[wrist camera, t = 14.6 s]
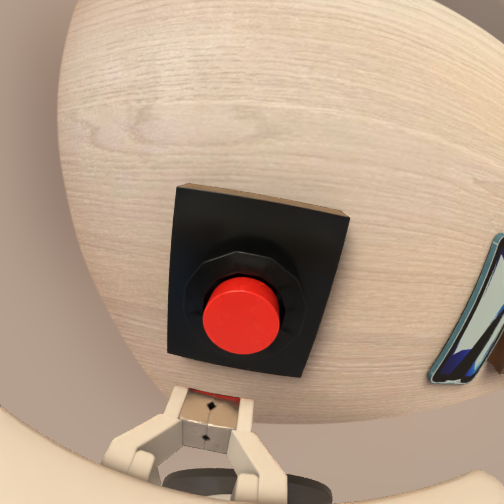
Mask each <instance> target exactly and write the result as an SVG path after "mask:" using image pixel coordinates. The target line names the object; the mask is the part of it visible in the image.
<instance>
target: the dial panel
mask: <svg viewBox="0 0 504 504" xmlns="http://www.w3.org/2000/svg"><path fill="white" fill-rule="evenodd" d="M487 359H488V360H489V361H490V363H491V364H492V365H493V366H494V368H495V369H496V370H497V372H498V373H499V374H504V331H503V332H502V334H501V336H500V338H499V340H498V341H497V343H496V345H495V347H494V348H493V350H492V352H491V353H490V355H489V357H488V358H487Z"/></svg>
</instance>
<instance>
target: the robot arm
mask: <svg viewBox="0 0 504 504" xmlns="http://www.w3.org/2000/svg"><path fill="white" fill-rule="evenodd" d="M253 412H254V400H252V399H245V398H239V397H232V396H226V395H220V394H213V393H209V392H204V391H200V390H196V389H192V388H187V387H183V386H179V385H176V386H175V387H174V389H173V392H172V394H171V397H170V399H169V401H168V404H167V406H166V409H165V411H164V414H158V415H156V416H155V417H153V418H151V419H149V420H148V421H146V422H144V423H142V424H140V425H139V426H137V427H135V428H133V429H132V430H129V431H128V432H126V433H124V434H122V435H120V436H118V437H116V438H114V439H113V441H112V442H111V444H110V446H109V448H108V450H107V452H106V454H105V456H104V458H103V460H102V462H101V464H99V463H96V462H94V461H92V460H90V459H88V458H86V457H84V456H81V455H79V454H77V453H75V452H73V451H71V450H69V449H68V448H66V447H64V446H62V445H60V444H58V443H57V442H55V441H53V440H51V439H50V438H48V437H46V436H45V435H43V434H41V433H40V432H38V431H37V430H35V429H33V428H32V427H30V426H29V425H27V424H26V423H24V422H23V421H21V420H20V419H19V418H17V417H16V416H14V415H13V414H12V413H10V412H9V411H7V410H6V409H5V408H4V407H2V406H1V405H0V504H288V503H287V475H286V474H285V472H284V471H283V470H282V469H281V467H280V466H279V465H278V463H277V462H276V461H275V459H274V458H273V457H272V455H271V454H270V453H269V451H268V450H267V448H266V447H265V446H264V444H263V443H262V441H261V440H260V439H259V437H258V436H257V434H256V433H252V424H253ZM183 445H184V446H189V447H193V448H198V449H204V450H209V451H213V452H218V453H223V454H227V457H228V459H229V461H230V463H231V465H232V467H233V469H234V471H235V472H236V474H237V476H238V477H237V480H236V483H235V486H234V489H233V492H232V494H219V495H210V496H200V495H196V494H191V493H186V492H182V491H178V490H174V489H170V488H167V487H163V486H161V480H160V476H159V472H158V468H157V466H159V465H160V464H161V463H162V462H164V461H165V460H166V459H168V458H169V457H170V456H171V455H173V454H174V453H175V452H177V451H178V450H179V449H180V448H181V447H182V446H183ZM337 504H504V487H503V485H502V484H501V482H500V481H499V480H497V479H496V478H494V477H493V476H491V475H490V474H488V473H486V472H484V471H482V470H474V471H471V472H469V473H466V474H463V475H461V476H458V477H455V478H453V479H450V480H447V481H444V482H441V483H438V484H435V485H431V486H428V487H425V488H422V489H418V490H414V491H410V492H406V493H401V494H397V495H392V496H387V497H382V498H376V499H370V500H363V501H355V502H347V503H337Z"/></svg>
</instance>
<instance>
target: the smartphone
mask: <svg viewBox="0 0 504 504" xmlns="http://www.w3.org/2000/svg"><path fill="white" fill-rule="evenodd" d="M503 331H504V234H503V233H499V234H497V235H496V237H495V238H494V240H493V243H492V246H491V249H490V252H489V255H488V257H487V260H486V263H485V265H484V268H483V270H482V273H481V275H480V278H479V280H478V283H477V285H476V287H475V289H474V292H473V294H472V296H471V298H470V300H469V302H468V305H467V307H466V309H465V311H464V313H463V315H462V317H461V319H460V321H459V322H458V324H457V326H456V328H455V330H454V332H453V334H452V335H451V337H450V339H449V341H448V342H447V344H446V346H445V347H444V349H443V351H442V352H441V354H440V356H439V357H438V359H437V360H436V362H435V364H434V365H433V367H432V368H431V370H430V371H429V374H428V378H429V379H430V381H431V382H432V383H435V384H468V383H470V382H471V381H472V380H473V379H474V378H475V377H476V375H477V374H478V372H479V371H480V369H481V368H482V366H483V365H484V363H485V361H486V360H487V358H488V357H489V355H490V353H491V352H492V350H493V348H494V347H495V345H496V343H497V341H498V340H499V338H500V336H501V334H502V332H503Z"/></svg>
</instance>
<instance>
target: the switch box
mask: <svg viewBox="0 0 504 504" xmlns="http://www.w3.org/2000/svg"><path fill="white" fill-rule="evenodd" d="M349 221H350V217H348V216H347V215H346V214H345V213H343V212H342V211H340V210H335V209H331V208H326V207H322V206H317V205H312V204H307V203H302V202H297V201H292V200H287V199H282V198H277V197H271V196H266V195H260V194H254V193H249V192H243V191H237V190H231V189H224V188H218V187H211V186H205V185H198V184H191V183H187V184H184V185H180V186H177V188H176V197H175V206H174V216H173V227H172V239H171V252H170V268H169V288H168V321H167V353H170V354H174V355H178V356H182V357H186V358H190V359H194V360H198V361H203V362H208V363H212V364H217V365H222V366H227V367H232V368H238V369H243V370H249V371H255V372H261V373H268V374H275V375H282V376H290V377H298V378H301V376H302V373H303V370H304V368H305V365H306V362H307V360H308V357H309V354H310V351H311V349H312V346H313V343H314V340H315V337H316V334H317V331H318V328H319V325H320V322H321V319H322V316H323V313H324V310H325V307H326V304H327V301H328V297H329V294H330V291H331V288H332V284H333V281H334V277H335V274H336V270H337V267H338V263H339V260H340V256H341V252H342V249H343V245H344V241H345V237H346V233H347V229H348V225H349ZM235 277H249V278H253V279H256V280H259V281H261V282H263V283H264V284H266V285H267V286H268V287H269V288H270V289H271V290H272V291H273V292H274V294H275V295H276V297H277V300H278V303H279V322H280V323H279V331H278V334H277V336H276V338H275V340H274V341H273V342H272V343H271V344H270V345H269V346H268V347H267V348H265V349H263V350H261V351H259V352H256V353H252V354H235V353H231V352H228V351H226V350H223V349H222V348H220V347H218V346H217V345H216V344H214V343H213V342H212V341H211V339H210V338H209V337H208V335H207V334H206V331H205V329H204V325H203V314H204V310H205V308H206V306H207V303H208V301H209V299H210V297H211V294H212V293H213V291H214V290H215V288H216V287H217V286H218V285H219V284H221V283H222V282H224V281H226V280H228V279H231V278H235Z"/></svg>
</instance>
